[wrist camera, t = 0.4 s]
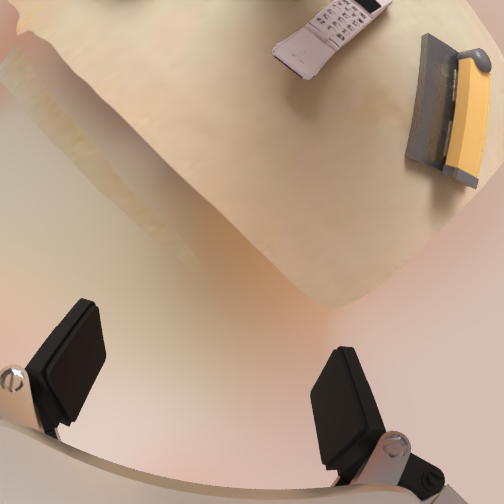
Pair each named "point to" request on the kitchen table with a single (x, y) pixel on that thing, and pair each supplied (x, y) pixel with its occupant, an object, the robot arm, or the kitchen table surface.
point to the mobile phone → (326, 34)
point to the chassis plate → (434, 104)
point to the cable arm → (469, 118)
